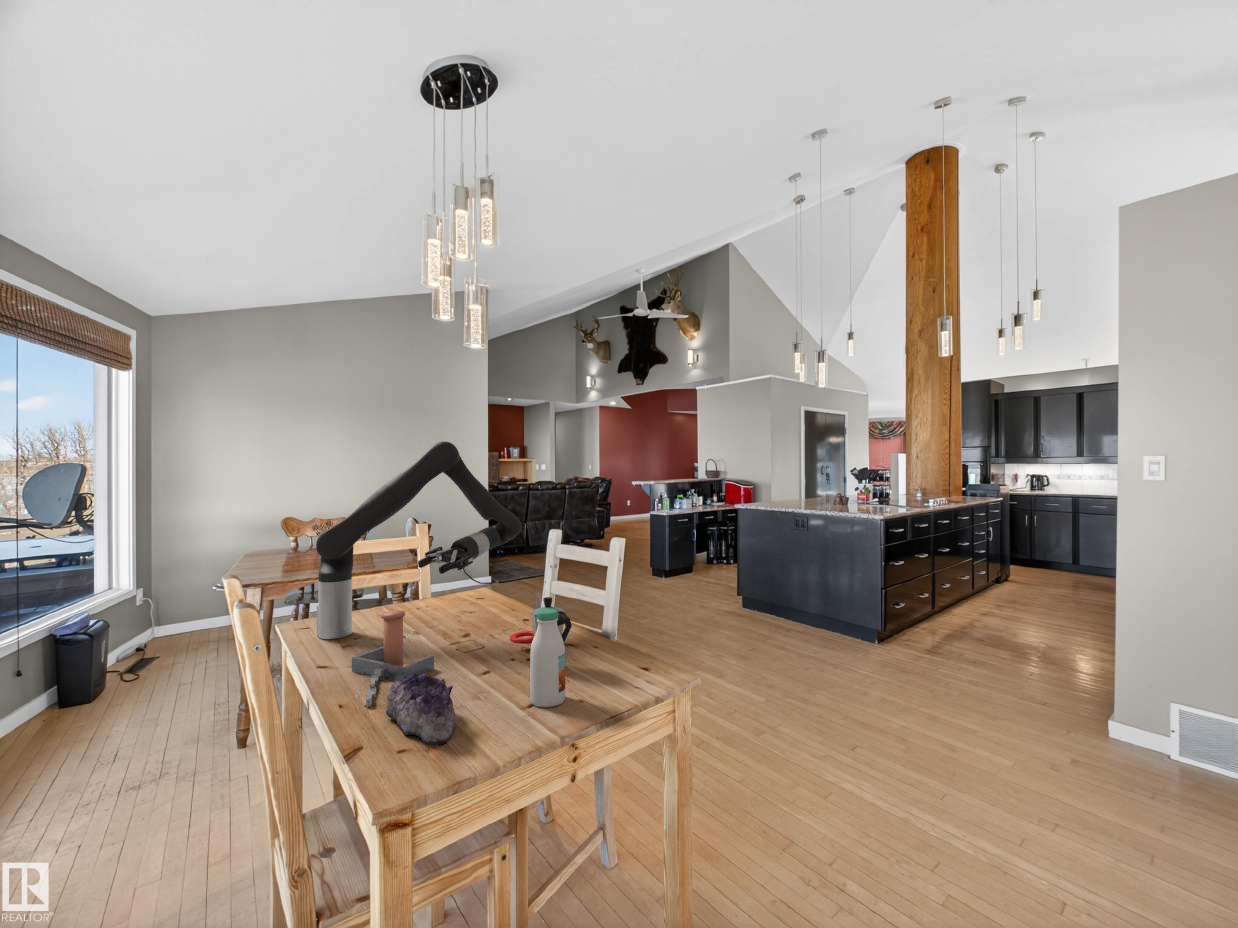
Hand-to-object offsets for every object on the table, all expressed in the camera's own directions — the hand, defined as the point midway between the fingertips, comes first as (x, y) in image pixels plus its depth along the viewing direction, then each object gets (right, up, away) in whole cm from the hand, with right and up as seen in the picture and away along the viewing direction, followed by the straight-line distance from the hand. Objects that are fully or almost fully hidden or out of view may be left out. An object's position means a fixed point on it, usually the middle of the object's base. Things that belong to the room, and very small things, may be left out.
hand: (429, 567), depth 155 cm
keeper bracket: (-4, -23, -15) cm, 28 cm away
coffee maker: (+36, -23, -14) cm, 45 cm away
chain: (-3, -23, -29) cm, 37 cm away
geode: (+15, -24, -44) cm, 52 cm away
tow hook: (+26, -24, +10) cm, 37 cm away
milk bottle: (+38, -23, -34) cm, 56 cm away
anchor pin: (-4, -23, -15) cm, 28 cm away
